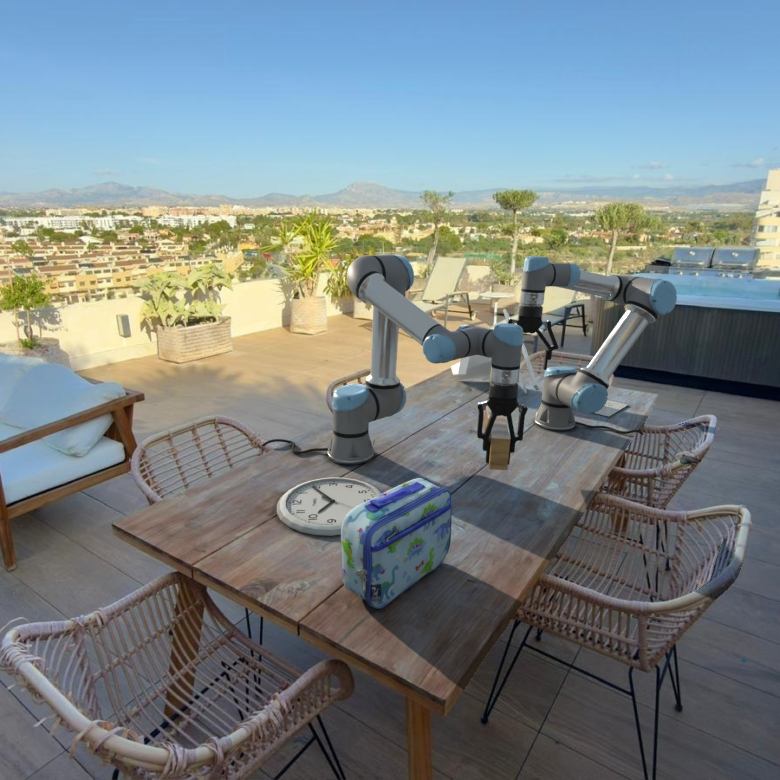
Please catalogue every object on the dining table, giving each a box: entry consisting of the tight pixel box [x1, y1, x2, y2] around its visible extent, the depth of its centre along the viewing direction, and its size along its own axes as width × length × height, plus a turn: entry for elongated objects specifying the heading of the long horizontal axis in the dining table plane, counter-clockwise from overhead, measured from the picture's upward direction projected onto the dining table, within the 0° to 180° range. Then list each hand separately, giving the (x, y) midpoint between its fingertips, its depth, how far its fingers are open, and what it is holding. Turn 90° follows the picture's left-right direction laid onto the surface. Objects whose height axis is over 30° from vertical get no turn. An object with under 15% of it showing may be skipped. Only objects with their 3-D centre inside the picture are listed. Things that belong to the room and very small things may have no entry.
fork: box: [437, 482, 448, 488], centre depth 145 cm, size 3×16×2 cm, turn 160°
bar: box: [482, 399, 511, 471], centre depth 157 cm, size 33×5×9 cm, turn 173°
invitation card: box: [594, 399, 629, 418], centre depth 226 cm, size 21×1×15 cm
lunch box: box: [340, 477, 452, 610], centre depth 110 cm, size 26×11×21 cm, turn 134°
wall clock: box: [276, 476, 383, 537], centre depth 142 cm, size 30×2×30 cm
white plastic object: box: [450, 308, 540, 394], centre depth 253 cm, size 37×45×31 cm
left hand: (497, 461), depth 146 cm, fingers closed on bar, 5 cm apart
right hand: (524, 367), depth 177 cm, fingers open, 13 cm apart
